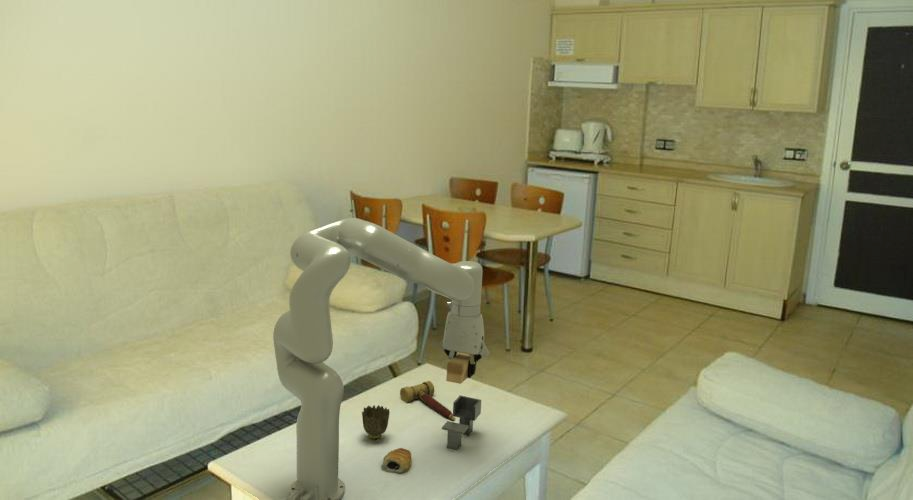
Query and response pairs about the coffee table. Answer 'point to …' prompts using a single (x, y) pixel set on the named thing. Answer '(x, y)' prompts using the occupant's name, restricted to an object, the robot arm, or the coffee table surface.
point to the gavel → (425, 397)
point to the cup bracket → (467, 411)
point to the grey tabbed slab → (454, 434)
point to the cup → (375, 421)
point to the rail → (458, 368)
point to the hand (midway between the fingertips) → (462, 373)
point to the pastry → (397, 460)
